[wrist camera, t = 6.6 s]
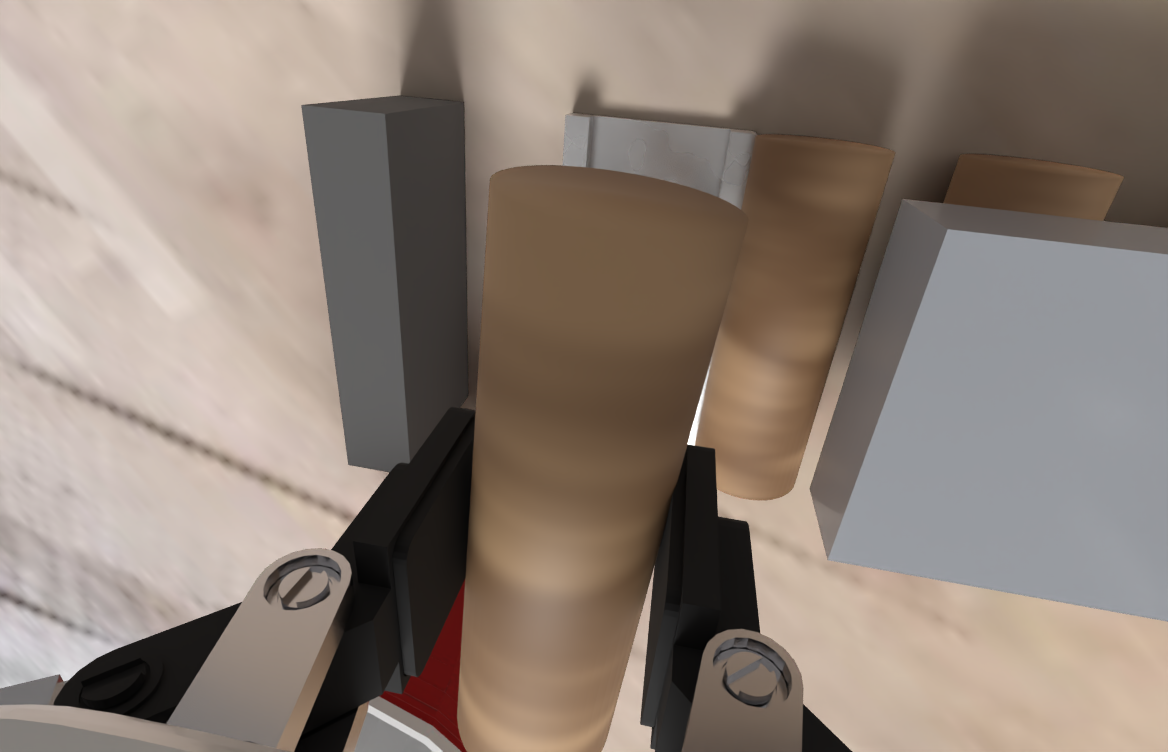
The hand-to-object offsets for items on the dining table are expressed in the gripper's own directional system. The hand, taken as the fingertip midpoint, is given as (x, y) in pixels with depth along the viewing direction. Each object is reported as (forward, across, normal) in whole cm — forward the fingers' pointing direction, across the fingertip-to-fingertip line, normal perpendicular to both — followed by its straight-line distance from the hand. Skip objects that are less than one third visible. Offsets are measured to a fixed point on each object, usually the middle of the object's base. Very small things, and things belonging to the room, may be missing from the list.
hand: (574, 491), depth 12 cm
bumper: (+13, +8, 0) cm, 15 cm away
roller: (-1, -2, 0) cm, 2 cm away
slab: (+8, -15, 0) cm, 17 cm away
